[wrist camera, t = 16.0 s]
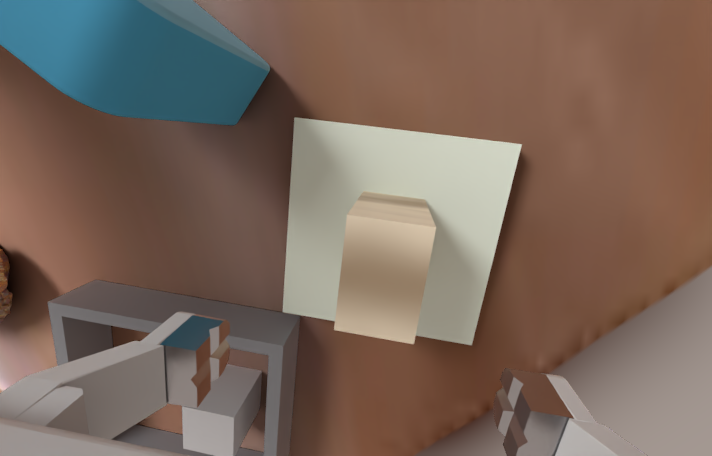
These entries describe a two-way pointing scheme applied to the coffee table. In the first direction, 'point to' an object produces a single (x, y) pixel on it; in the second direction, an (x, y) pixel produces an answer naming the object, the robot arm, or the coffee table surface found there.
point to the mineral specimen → (4, 286)
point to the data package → (136, 57)
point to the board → (401, 178)
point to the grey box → (223, 413)
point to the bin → (151, 309)
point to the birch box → (384, 266)
